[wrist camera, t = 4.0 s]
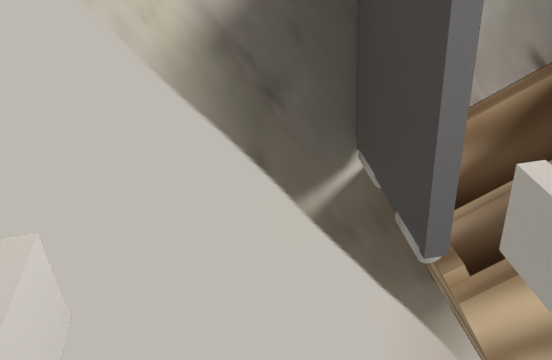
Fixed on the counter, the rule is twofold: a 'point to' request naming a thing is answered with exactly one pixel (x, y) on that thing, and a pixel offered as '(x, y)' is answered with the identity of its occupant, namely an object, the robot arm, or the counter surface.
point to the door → (416, 109)
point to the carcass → (497, 224)
